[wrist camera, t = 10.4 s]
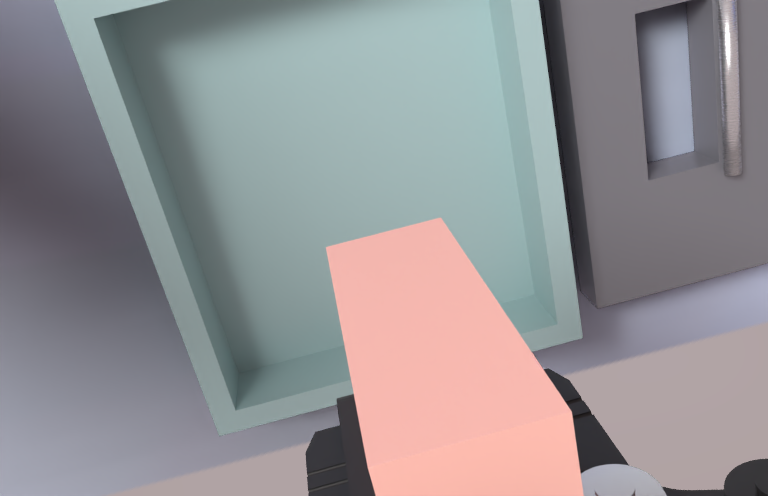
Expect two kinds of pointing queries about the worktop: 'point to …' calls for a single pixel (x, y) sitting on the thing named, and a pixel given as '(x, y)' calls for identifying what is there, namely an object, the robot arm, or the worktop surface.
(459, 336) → the pink rubber eraser
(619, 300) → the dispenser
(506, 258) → the tray
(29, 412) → the worktop surface
